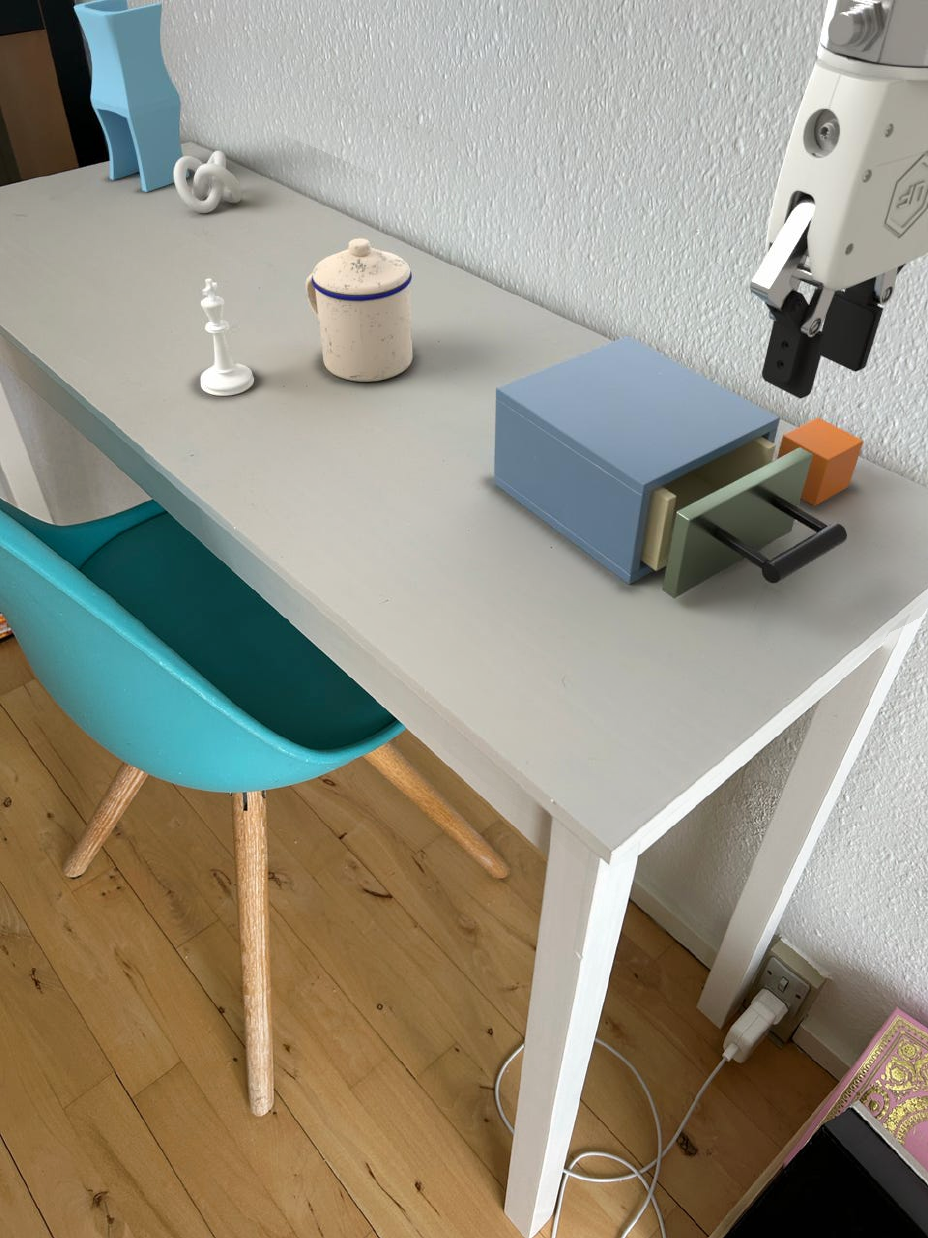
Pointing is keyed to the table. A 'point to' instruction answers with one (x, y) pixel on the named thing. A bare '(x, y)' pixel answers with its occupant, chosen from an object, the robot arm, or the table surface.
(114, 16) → the vase
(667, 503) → the drawer
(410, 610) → the table surface
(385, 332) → the teacup with lid
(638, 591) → the table surface
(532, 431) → the drawer cabinet
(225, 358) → the chess piece
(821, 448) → the matte orange cube
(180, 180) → the knot
